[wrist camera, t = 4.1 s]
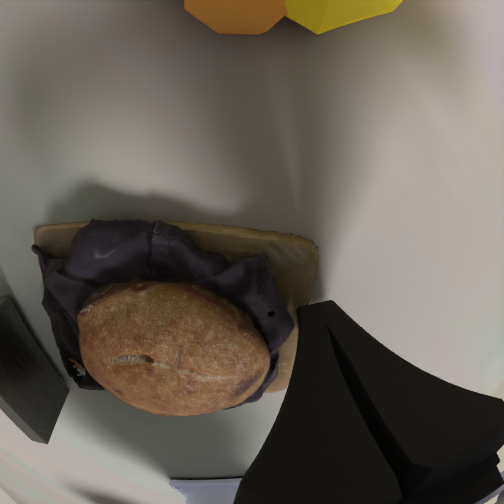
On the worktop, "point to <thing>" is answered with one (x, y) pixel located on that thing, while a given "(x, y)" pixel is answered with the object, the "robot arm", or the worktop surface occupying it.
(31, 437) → the grey angular piece
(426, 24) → the worktop surface
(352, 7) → the yellow banana
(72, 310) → the bread roll
